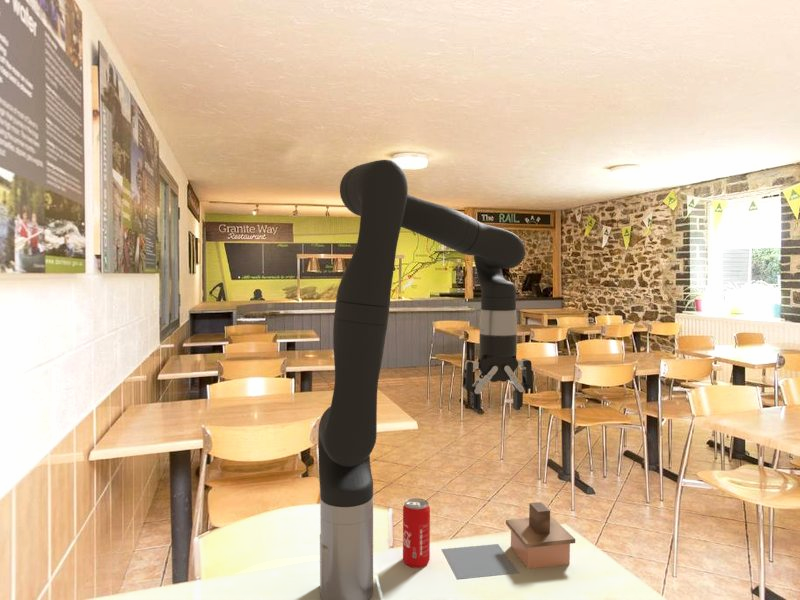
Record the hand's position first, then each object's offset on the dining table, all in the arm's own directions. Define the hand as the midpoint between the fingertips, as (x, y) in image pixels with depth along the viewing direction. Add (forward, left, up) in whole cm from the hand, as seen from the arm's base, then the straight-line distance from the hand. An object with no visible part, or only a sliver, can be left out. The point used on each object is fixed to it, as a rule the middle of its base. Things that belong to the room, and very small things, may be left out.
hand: (497, 410), depth 112 cm
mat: (-6, -7, -28) cm, 30 cm away
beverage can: (-18, -5, -28) cm, 34 cm away
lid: (+6, -7, -23) cm, 25 cm away
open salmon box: (+6, -7, -28) cm, 30 cm away
